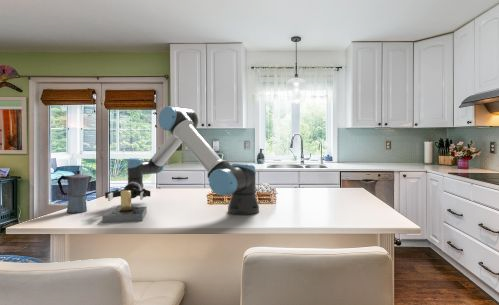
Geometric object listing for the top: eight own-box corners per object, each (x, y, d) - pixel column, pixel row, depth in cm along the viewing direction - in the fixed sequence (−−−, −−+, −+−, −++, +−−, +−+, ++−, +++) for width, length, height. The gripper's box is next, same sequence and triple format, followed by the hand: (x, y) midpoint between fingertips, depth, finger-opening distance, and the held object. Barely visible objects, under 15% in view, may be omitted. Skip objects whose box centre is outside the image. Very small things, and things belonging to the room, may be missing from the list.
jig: (146, 212, 153) (146, 206, 153) (142, 220, 137) (142, 214, 137) (111, 214, 150) (111, 207, 150) (102, 222, 134) (102, 215, 134)
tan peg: (132, 216, 146) (131, 190, 146) (130, 218, 142) (130, 191, 142) (122, 216, 146) (121, 190, 145) (120, 218, 141) (119, 192, 141)
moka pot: (96, 210, 158) (95, 170, 157) (62, 216, 146) (60, 172, 146) (89, 207, 164) (88, 169, 163) (55, 212, 153) (54, 171, 152)
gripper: (157, 196, 166) (154, 204, 145) (106, 198, 161) (95, 207, 140) (157, 182, 166) (153, 188, 145) (106, 183, 161) (94, 190, 140)
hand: (125, 197), depth 142 cm, fingers open, 13 cm apart
